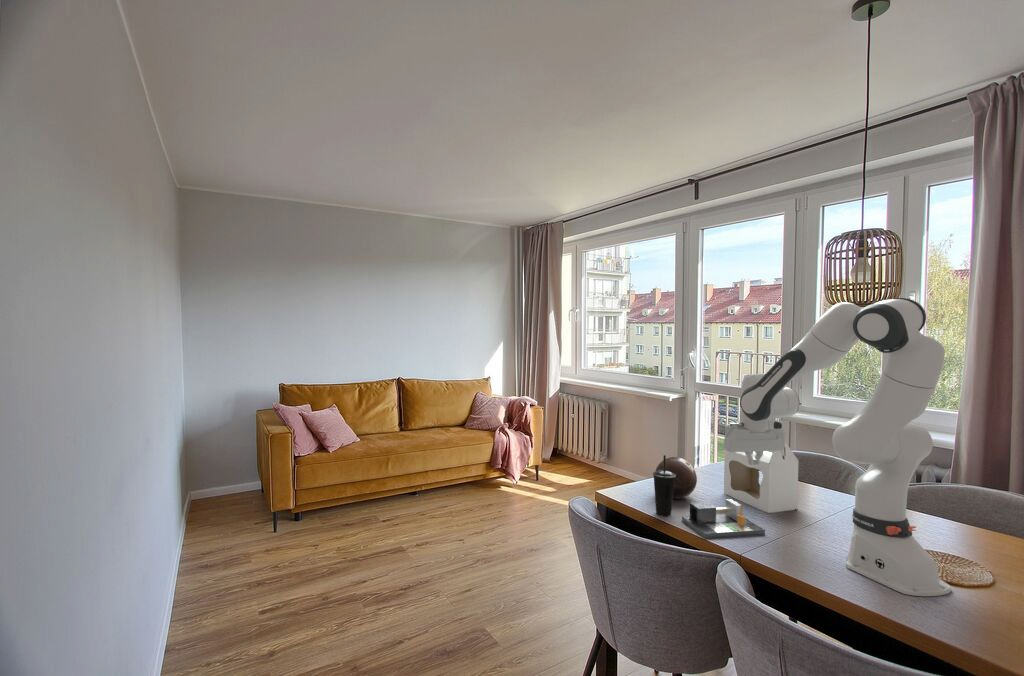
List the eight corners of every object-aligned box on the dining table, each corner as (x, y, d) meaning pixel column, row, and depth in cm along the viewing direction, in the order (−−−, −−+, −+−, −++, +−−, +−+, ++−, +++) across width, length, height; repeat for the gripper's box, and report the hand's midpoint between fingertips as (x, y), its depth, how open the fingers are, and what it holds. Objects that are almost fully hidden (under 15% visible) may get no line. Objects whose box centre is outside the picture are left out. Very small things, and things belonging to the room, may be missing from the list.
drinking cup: (679, 513, 172) (680, 455, 171) (669, 519, 166) (670, 459, 166) (658, 507, 177) (659, 451, 177) (648, 513, 171) (648, 455, 171)
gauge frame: (764, 534, 155) (765, 514, 154) (704, 538, 151) (705, 517, 151) (737, 517, 168) (737, 498, 168) (681, 520, 165) (682, 501, 165)
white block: (747, 524, 158) (748, 508, 158) (718, 526, 156) (719, 510, 156) (731, 514, 167) (731, 499, 167) (703, 515, 165) (703, 500, 165)
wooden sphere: (697, 506, 179) (698, 464, 179) (653, 501, 183) (654, 460, 183) (695, 493, 193) (696, 454, 193) (655, 489, 198) (655, 451, 197)
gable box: (722, 493, 194) (724, 421, 193) (750, 490, 198) (751, 419, 197) (768, 513, 172) (770, 432, 172) (798, 509, 177) (800, 430, 176)
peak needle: (744, 524, 157) (745, 505, 157) (741, 525, 157) (741, 505, 156) (740, 522, 159) (741, 503, 159) (737, 522, 158) (737, 503, 158)
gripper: (731, 425, 159) (730, 468, 160) (789, 423, 163) (787, 465, 163) (720, 421, 166) (719, 462, 166) (775, 420, 169) (774, 460, 169)
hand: (753, 464), depth 165 cm, fingers closed
